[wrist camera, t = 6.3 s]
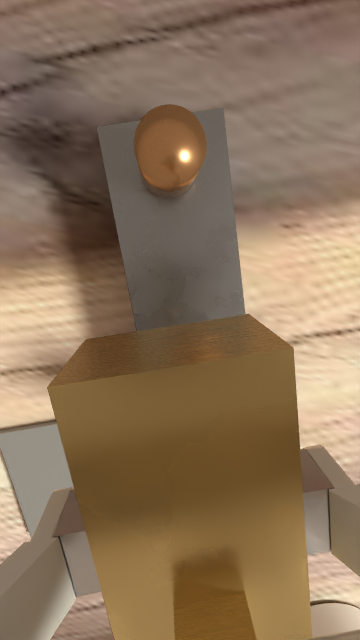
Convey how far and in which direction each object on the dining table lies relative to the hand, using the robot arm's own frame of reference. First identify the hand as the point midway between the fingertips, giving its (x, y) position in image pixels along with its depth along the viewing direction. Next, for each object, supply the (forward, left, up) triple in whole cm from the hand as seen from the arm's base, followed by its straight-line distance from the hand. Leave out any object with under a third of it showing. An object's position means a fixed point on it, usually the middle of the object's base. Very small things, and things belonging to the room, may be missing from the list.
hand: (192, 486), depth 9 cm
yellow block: (0, 0, -1) cm, 1 cm away
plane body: (+2, -2, -20) cm, 20 cm away
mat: (-14, +12, -20) cm, 27 cm away
